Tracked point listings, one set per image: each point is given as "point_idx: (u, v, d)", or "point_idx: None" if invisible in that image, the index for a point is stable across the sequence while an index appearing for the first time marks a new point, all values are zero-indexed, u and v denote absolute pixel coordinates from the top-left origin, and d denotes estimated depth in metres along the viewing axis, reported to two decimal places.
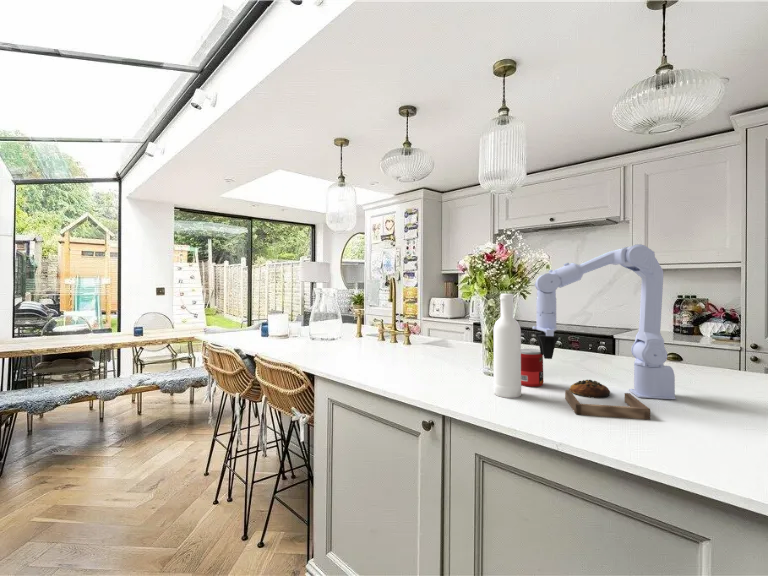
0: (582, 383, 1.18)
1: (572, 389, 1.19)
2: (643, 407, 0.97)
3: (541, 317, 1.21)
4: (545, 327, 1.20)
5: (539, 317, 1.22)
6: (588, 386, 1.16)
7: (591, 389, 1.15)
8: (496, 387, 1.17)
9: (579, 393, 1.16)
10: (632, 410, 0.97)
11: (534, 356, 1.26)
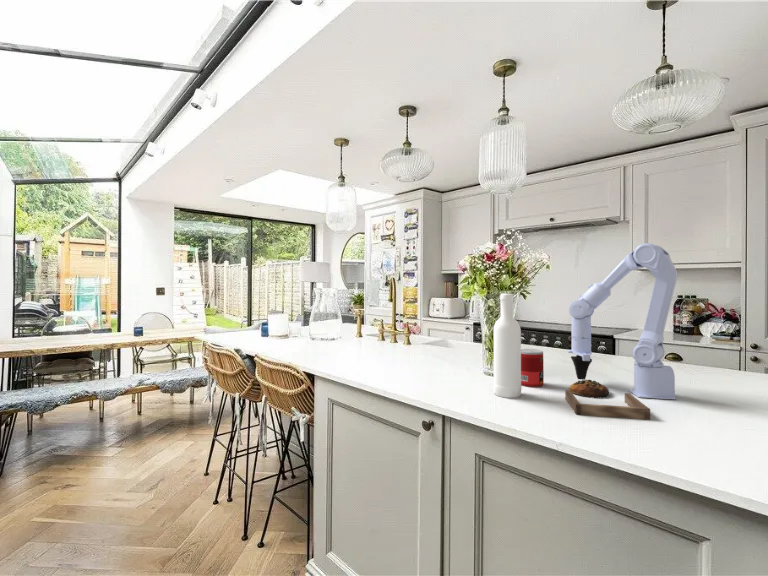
0: (581, 383, 1.18)
1: (571, 389, 1.19)
2: (643, 407, 0.97)
3: (577, 342, 1.28)
4: (581, 351, 1.27)
5: (575, 342, 1.28)
6: (587, 386, 1.16)
7: (591, 389, 1.15)
8: (496, 387, 1.17)
9: (578, 393, 1.17)
10: (632, 410, 0.97)
11: (535, 356, 1.26)
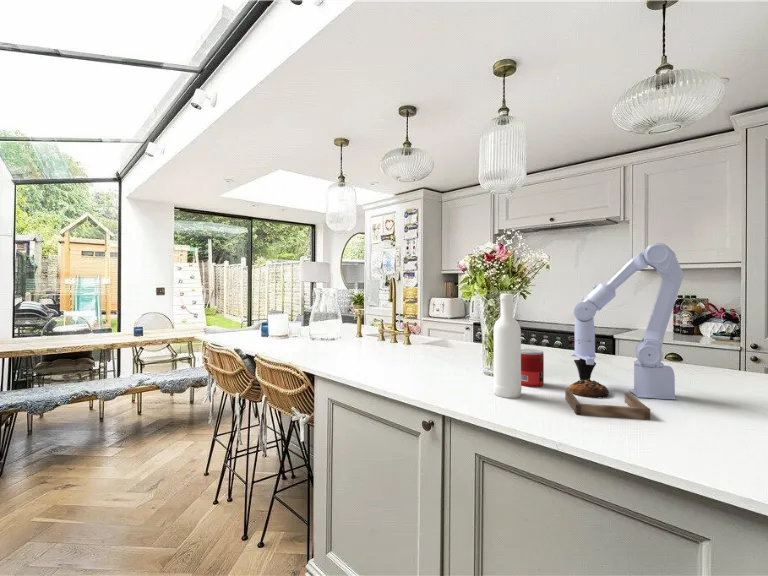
0: (581, 383, 1.18)
1: (571, 389, 1.19)
2: (643, 407, 0.97)
3: (580, 345, 1.23)
4: (584, 355, 1.22)
5: (578, 345, 1.24)
6: (587, 386, 1.16)
7: (590, 388, 1.15)
8: (496, 387, 1.17)
9: (577, 392, 1.17)
10: (632, 410, 0.97)
11: (535, 357, 1.26)
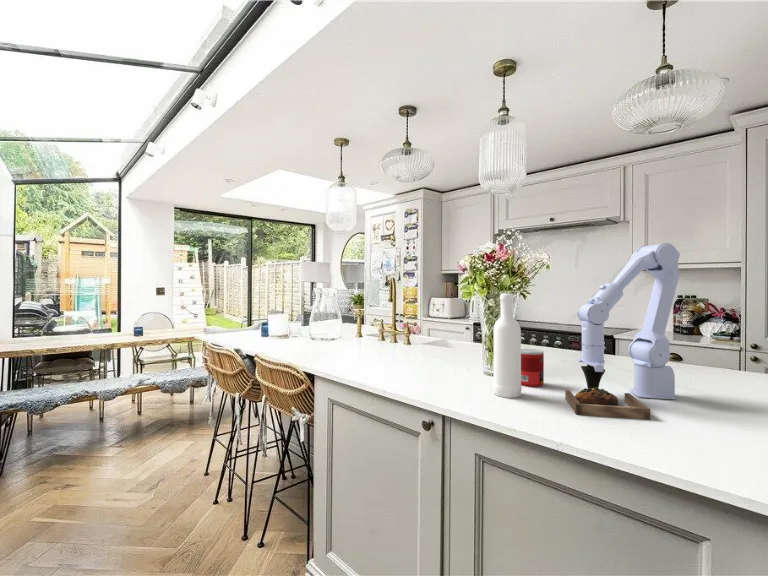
0: (587, 391, 1.09)
1: (576, 397, 1.11)
2: (643, 407, 0.97)
3: (588, 350, 1.14)
4: (592, 361, 1.13)
5: (586, 350, 1.14)
6: (592, 394, 1.07)
7: (596, 397, 1.06)
8: (496, 387, 1.17)
9: (582, 401, 1.08)
10: (632, 410, 0.97)
11: (535, 357, 1.26)
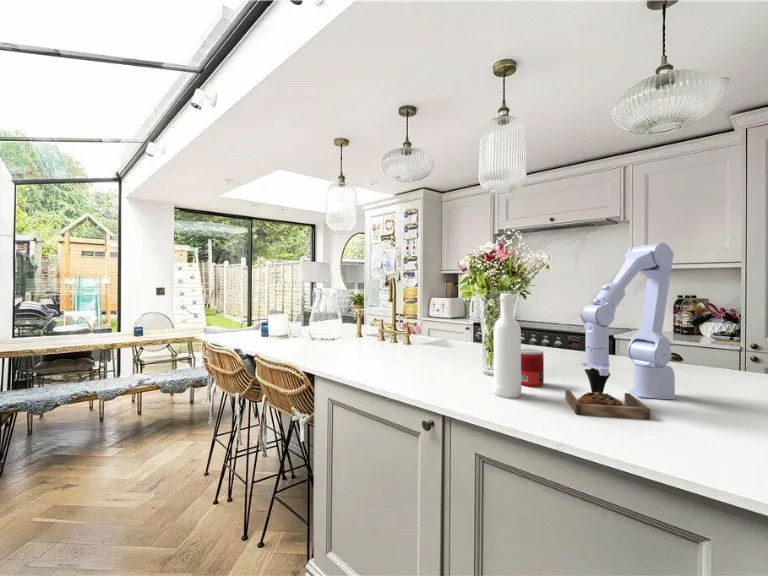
0: (589, 395, 1.05)
1: None
2: (643, 407, 0.97)
3: (592, 353, 1.09)
4: (597, 364, 1.09)
5: (590, 353, 1.10)
6: (593, 399, 1.03)
7: (596, 402, 1.02)
8: (496, 387, 1.17)
9: None
10: (632, 410, 0.97)
11: (535, 357, 1.26)
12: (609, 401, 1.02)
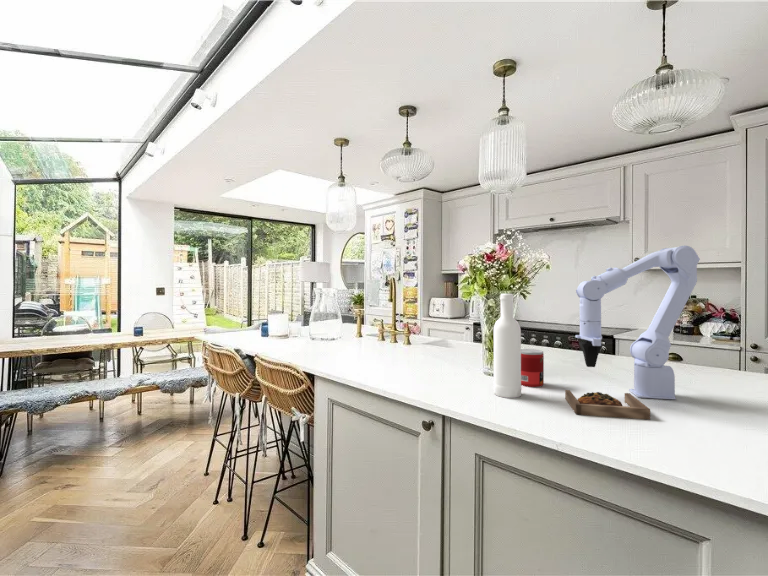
0: (588, 395, 1.05)
1: None
2: (643, 407, 0.97)
3: (585, 326, 1.16)
4: (590, 336, 1.16)
5: (584, 326, 1.17)
6: (593, 399, 1.03)
7: (596, 402, 1.02)
8: (496, 387, 1.17)
9: None
10: (632, 410, 0.97)
11: (535, 357, 1.26)
12: (608, 401, 1.02)
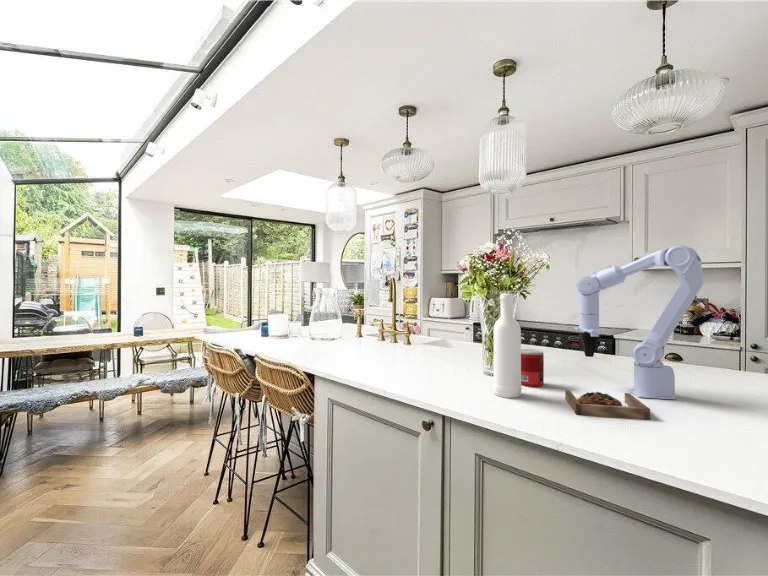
0: (588, 395, 1.05)
1: None
2: (643, 407, 0.97)
3: (584, 318, 1.26)
4: (589, 328, 1.25)
5: (583, 318, 1.26)
6: (592, 399, 1.03)
7: (595, 402, 1.02)
8: (496, 387, 1.17)
9: None
10: (632, 410, 0.97)
11: (535, 357, 1.26)
12: (608, 401, 1.02)
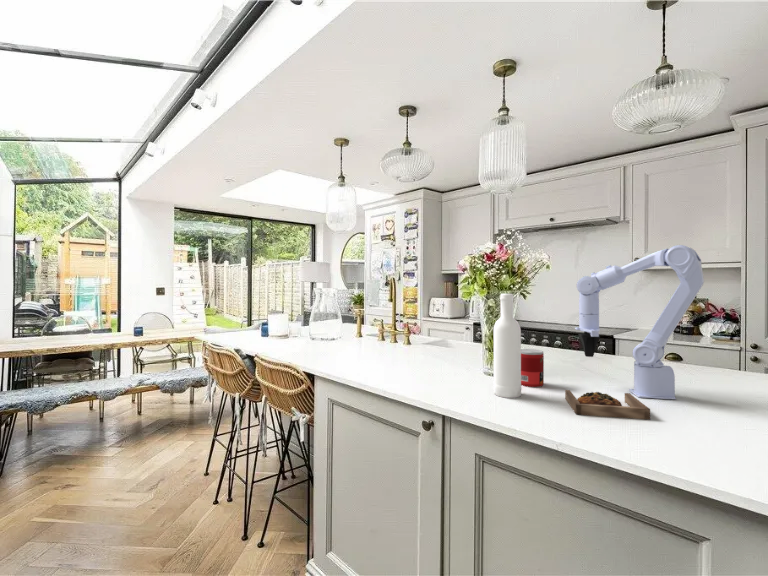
0: (588, 395, 1.05)
1: None
2: (643, 407, 0.97)
3: (584, 318, 1.26)
4: (589, 328, 1.25)
5: (583, 318, 1.26)
6: (592, 399, 1.03)
7: (595, 402, 1.02)
8: (496, 387, 1.17)
9: None
10: (632, 410, 0.97)
11: (535, 357, 1.26)
12: (608, 401, 1.02)
